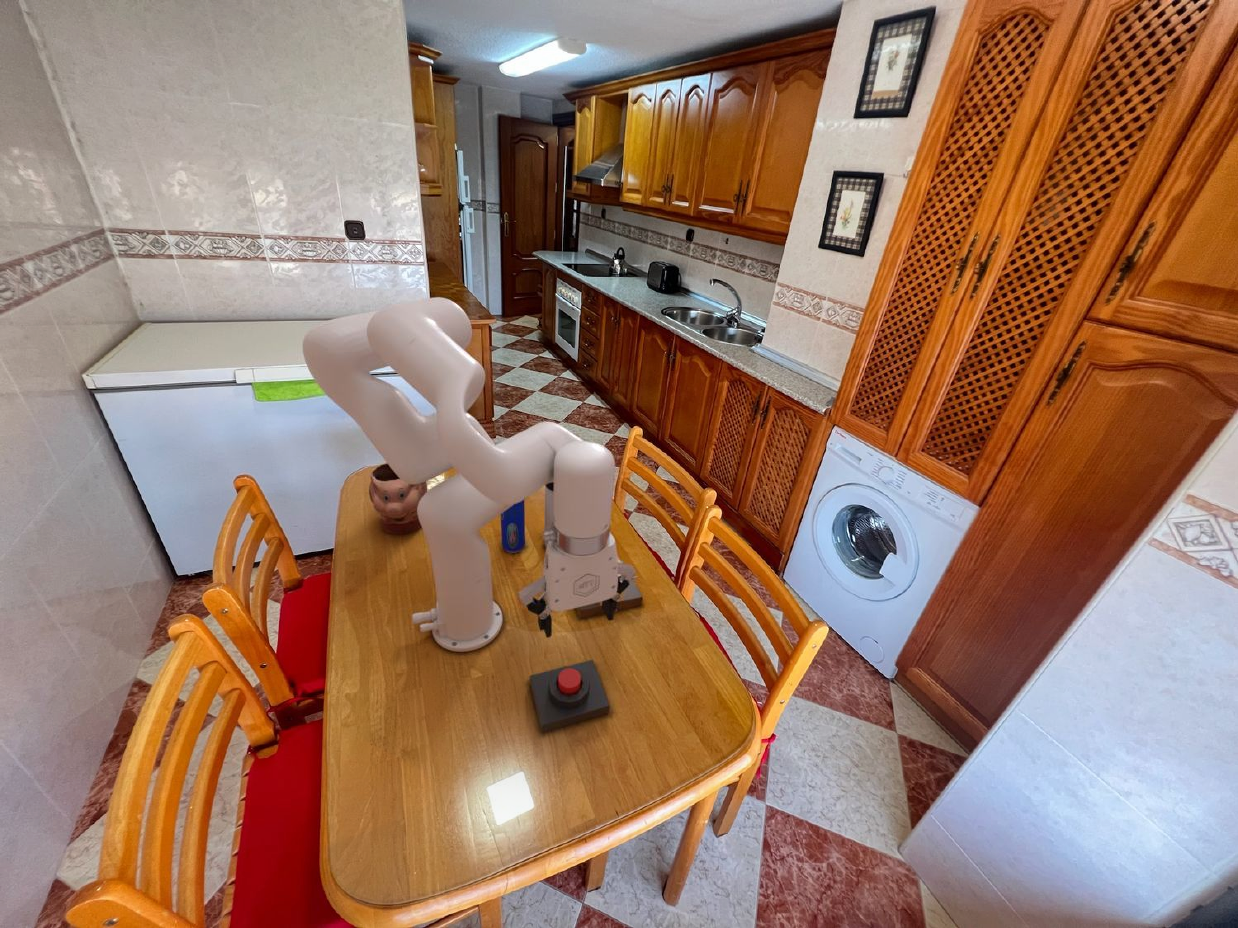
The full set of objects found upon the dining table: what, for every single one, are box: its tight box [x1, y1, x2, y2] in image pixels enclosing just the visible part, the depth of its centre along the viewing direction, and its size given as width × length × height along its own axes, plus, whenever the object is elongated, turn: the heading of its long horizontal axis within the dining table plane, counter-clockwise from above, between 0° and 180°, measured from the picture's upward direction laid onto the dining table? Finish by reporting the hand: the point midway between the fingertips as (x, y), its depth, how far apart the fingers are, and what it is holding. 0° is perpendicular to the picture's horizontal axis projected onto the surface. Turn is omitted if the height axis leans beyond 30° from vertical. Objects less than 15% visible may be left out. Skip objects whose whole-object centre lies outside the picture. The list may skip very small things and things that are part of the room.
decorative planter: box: [368, 462, 428, 534], centre depth 114 cm, size 20×12×14 cm, turn 23°
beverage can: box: [500, 499, 526, 554], centre depth 109 cm, size 5×5×15 cm
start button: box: [558, 668, 581, 695], centre depth 79 cm, size 4×4×2 cm
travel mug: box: [543, 482, 554, 549], centre depth 109 cm, size 6×7×20 cm
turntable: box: [575, 560, 643, 620], centre depth 102 cm, size 15×15×3 cm
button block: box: [529, 659, 611, 734], centre depth 81 cm, size 11×9×4 cm
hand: (577, 621), depth 75 cm, fingers open, 9 cm apart
